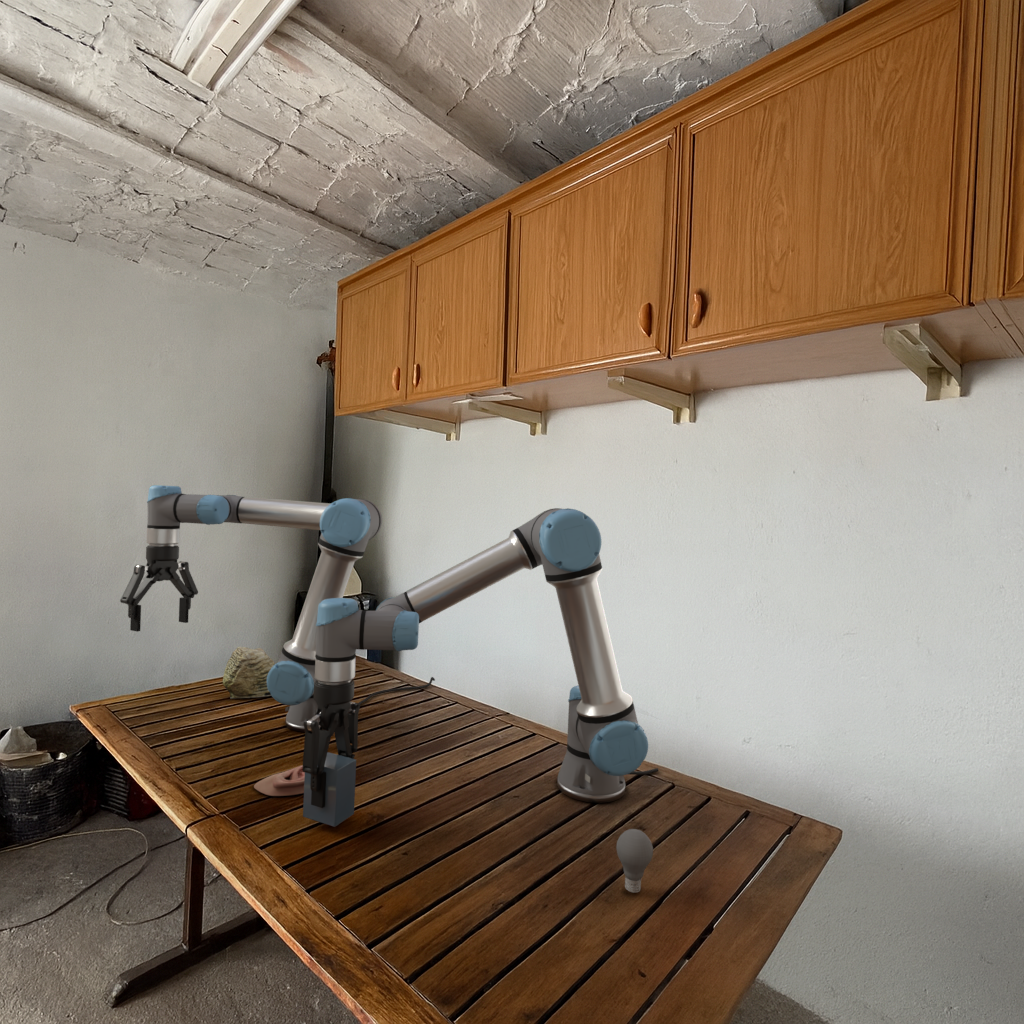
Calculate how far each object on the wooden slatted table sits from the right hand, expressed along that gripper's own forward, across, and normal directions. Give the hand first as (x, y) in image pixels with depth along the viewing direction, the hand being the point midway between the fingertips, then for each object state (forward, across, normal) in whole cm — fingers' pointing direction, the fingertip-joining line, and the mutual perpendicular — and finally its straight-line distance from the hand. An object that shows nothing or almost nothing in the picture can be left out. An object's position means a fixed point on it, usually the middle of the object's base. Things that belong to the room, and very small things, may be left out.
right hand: (329, 798), depth 122 cm
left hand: (-22, -15, -70) cm, 75 cm away
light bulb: (+5, -8, +58) cm, 58 cm away
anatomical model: (+5, -9, -18) cm, 21 cm away
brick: (+3, 0, 0) cm, 3 cm away
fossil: (+5, -50, -72) cm, 88 cm away
